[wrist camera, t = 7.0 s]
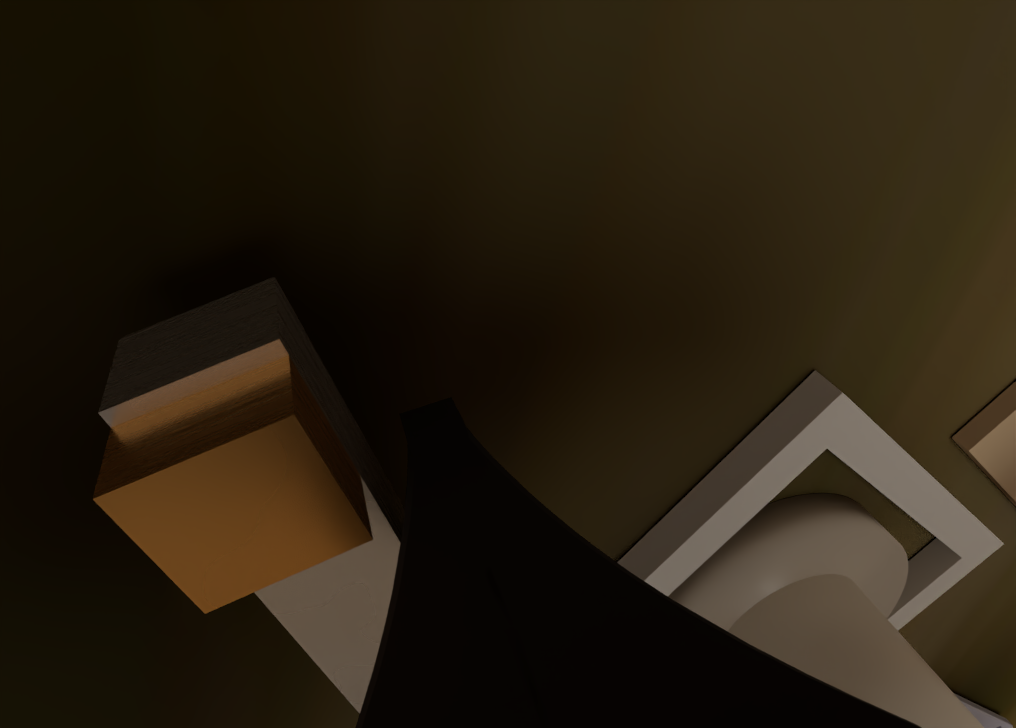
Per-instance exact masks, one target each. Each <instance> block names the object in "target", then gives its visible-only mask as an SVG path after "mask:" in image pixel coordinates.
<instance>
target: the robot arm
mask: <svg viewBox="0 0 1016 728" xmlns="http://www.w3.org/2000/svg"><path fill="white" fill-rule="evenodd" d="M400 417H401V420H402V424H403V427H404V431H405V434H406V438H407V443H408V472H407V490H406V500H405V511H404V521H403V530H402V537H401V543H400V549H399V555H398V561H397V567H396V573H395V578H394V584H393V590H392V594H391V599H390V604H389V608H388V613H387V617H386V622H385V626H384V630H383V634H382V638H381V642H380V646H379V650H378V653H377V657H376V661H375V665H374V668H373V672H372V675H371V679H370V682H369V685H368V688H367V692H366V695H365V698H364V702H363V705H362V708H361V712H360V715H359V718H358V722H357V725H356V728H921V727H920V726H918V725H916V724H914V723H912V722H910V721H908V720H905V719H903V718H901V717H899V716H897V715H894V714H892V713H890V712H888V711H885V710H883V709H881V708H879V707H877V706H874V705H872V704H870V703H868V702H865V701H863V700H861V699H859V698H857V697H854V696H852V695H850V694H848V693H846V692H844V691H842V690H840V689H838V688H836V687H834V686H831V685H829V684H827V683H825V682H823V681H821V680H819V679H817V678H815V677H813V676H811V675H808V674H806V673H804V672H802V671H801V670H799V669H797V668H795V667H793V666H791V665H789V664H787V663H785V662H783V661H781V660H779V659H777V658H775V657H773V656H772V655H770V654H768V653H766V652H764V651H762V650H760V649H758V648H756V647H754V646H752V645H750V644H748V643H747V642H745V641H743V640H741V639H740V638H738V637H736V636H735V635H733V634H731V633H729V632H728V631H726V630H724V629H722V628H721V627H719V626H717V625H716V624H714V623H712V622H710V621H709V620H707V619H705V618H703V617H702V616H700V615H698V614H697V613H695V612H693V611H691V610H690V609H688V608H686V607H684V606H683V605H681V604H679V603H678V602H676V601H674V600H672V599H671V598H669V597H668V596H666V595H665V594H663V593H662V592H660V591H658V590H657V589H655V588H654V587H652V586H651V585H649V584H648V583H646V582H645V581H643V580H642V579H640V578H639V577H637V576H636V575H634V574H633V573H631V572H630V571H628V570H627V569H625V568H624V567H623V566H621V565H620V564H618V563H617V562H616V561H614V560H613V559H611V558H610V557H608V556H607V555H606V554H604V553H603V552H601V551H600V550H599V549H597V548H596V547H595V546H593V545H592V544H591V543H589V542H588V541H587V540H586V539H584V538H583V537H582V536H580V535H579V534H578V533H577V532H575V531H574V530H573V529H572V528H570V527H569V526H568V525H567V524H565V523H564V522H563V521H562V520H561V519H559V518H558V517H557V516H556V515H555V514H553V513H552V512H551V511H550V510H549V509H547V508H546V507H545V506H544V505H543V504H542V503H541V502H539V501H538V500H537V499H536V498H535V497H534V496H533V495H532V494H530V493H529V492H528V491H527V490H526V489H525V488H524V487H523V486H522V485H521V484H520V483H519V482H518V481H517V480H516V479H515V478H514V477H513V476H511V475H510V474H509V473H508V472H507V471H506V470H505V469H504V468H503V467H502V466H501V465H500V464H499V463H498V462H497V461H496V460H495V459H494V458H493V457H492V456H491V455H490V454H489V452H488V451H487V450H486V449H485V448H484V447H483V446H482V445H481V444H480V443H479V441H478V440H477V439H476V438H475V437H474V436H473V435H472V433H471V432H470V431H469V430H468V429H467V427H466V426H465V424H464V422H463V420H462V418H461V416H460V413H459V411H458V409H457V408H456V406H455V404H454V402H453V400H452V398H448V399H445V400H442V401H438V402H435V403H432V404H429V405H426V406H423V407H420V408H417V409H414V410H411V411H408V412H405V413H402V414H400ZM954 694H955V693H954ZM955 695H956V697H957V698H958V699H959V700H960V701H961V702H962V703H963V704H964V706H965V707H966V708H967V709H968V710H969V711H970V712H971V713H972V714H973V716H974V717H975V718H976V719H977V720H978V721H979V722H980V723H981V725H982V726H983V727H984V728H1013V726H1012V724H1011V723H1010V722H1009V721H1008V720H1007V719H1006V718H1004V717H1002V716H1000V715H998V714H996V713H994V712H992V711H990V710H988V709H986V708H983V707H981V706H979V705H977V704H975V703H973V702H971V701H969V700H967V699H965V698H963V697H961V696H959V695H957V694H955Z"/></svg>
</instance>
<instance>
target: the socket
mask: <svg viewBox="0 0 1016 728" xmlns="http://www.w3.org/2000/svg"><path fill="white" fill-rule="evenodd" d="M826 449H828V450H830V451H831V452H832V453H833V454H835V455H836V456H837V457H838V458H839V459H841V460H842V461H843V462H844V463H846V464H847V465H848V466H849V467H851V468H852V469H853V470H854V471H855V472H857V473H858V474H859V475H860V476H862V477H863V478H864V479H865V480H867V481H868V482H869V483H870V484H871V485H873V486H874V487H875V488H876V489H878V490H879V491H880V492H881V493H883V494H884V495H885V496H886V497H887V498H889V499H890V500H891V501H892V502H894V503H895V504H896V505H897V506H899V507H900V508H901V509H902V510H903V511H905V512H906V513H907V514H908V515H910V516H911V517H912V518H913V519H915V520H916V521H917V522H918V523H920V524H921V525H922V526H923V527H924V528H926V529H927V530H928V531H929V532H931V533H932V534H933V535H934V536H936V537H937V538H936V539H934V540H933V541H932V542H931V543H930V544H929V545H927V546H926V547H925V548H924V549H923V550H921V551H920V552H919V553H918V554H917V555H915V556H914V557H913V558H912V559H911V560H910V561H908V575H907V580H906V584H905V587H904V589H903V592H902V594H901V596H900V598H899V600H898V602H897V604H896V606H895V607H894V609H893V610H892V612H891V613H890V615H889V616H888V618H887V619H888V620H889V622H890V623H891V624H892V625H893V626H894V627H895V628H896V629H897V631H898V630H899V629H901V628H902V627H903V626H904V625H906V624H907V623H908V622H909V621H910V620H912V619H913V618H914V617H915V616H917V615H918V614H919V613H920V612H921V611H923V610H924V609H925V608H926V607H928V606H929V605H930V604H931V603H932V602H934V601H935V600H936V599H937V598H939V597H940V596H941V595H942V594H943V593H945V592H946V591H947V590H948V589H950V588H951V587H952V586H953V585H954V584H956V583H957V582H958V581H959V580H961V579H962V578H963V577H964V576H965V575H967V574H968V573H969V572H970V571H972V570H973V569H974V568H975V567H977V566H978V565H979V564H980V563H981V562H983V561H984V560H985V559H986V558H988V557H989V556H990V555H991V554H992V553H994V552H995V551H996V550H997V549H999V548H1000V547H1001V546H1002V545H1003V544H1004V543H1003V542H1002V541H1000V540H999V539H998V538H997V537H996V536H995V535H994V534H993V533H992V532H991V531H990V530H989V529H988V528H987V527H986V526H984V525H983V524H982V523H981V522H980V521H979V520H978V519H977V518H976V517H975V516H974V515H973V514H972V513H971V512H970V511H968V510H967V509H966V508H965V507H964V506H963V505H962V504H961V503H960V502H959V501H958V500H957V499H956V498H955V497H954V496H952V495H951V494H950V493H949V492H948V491H947V490H946V489H945V488H944V487H943V486H942V485H941V484H940V483H939V482H938V481H936V480H935V479H934V478H933V477H932V476H931V475H930V474H929V473H928V472H927V471H926V470H925V469H924V468H923V467H922V466H920V465H919V464H918V463H917V462H916V461H915V460H914V459H913V458H912V457H911V456H910V455H909V454H908V453H907V452H906V451H904V450H903V449H902V448H901V447H900V446H899V445H898V444H897V443H896V442H895V441H894V440H893V439H892V438H891V437H890V436H888V435H887V434H886V433H885V432H884V431H883V430H882V429H881V428H880V427H879V426H878V425H877V424H876V423H875V422H874V421H872V420H871V419H870V418H869V417H868V416H867V415H866V414H865V413H864V412H863V411H862V410H861V409H860V408H859V407H858V406H857V405H855V404H854V403H853V402H852V401H851V400H850V399H849V398H848V397H847V396H846V395H845V394H844V393H843V392H841V391H840V390H839V389H838V388H837V387H835V386H834V385H833V384H832V383H830V382H829V381H828V380H827V379H826V378H824V377H823V376H822V375H821V374H820V373H818V372H817V371H816V370H815V371H814V372H813V373H812V374H811V375H810V376H809V377H808V378H807V379H806V380H805V381H804V382H803V383H801V384H800V385H799V386H798V387H797V388H796V389H795V390H794V391H793V392H792V393H791V394H790V395H789V396H788V397H787V398H786V399H785V400H784V401H783V402H782V403H781V404H780V405H779V406H778V407H777V408H776V409H775V410H774V411H773V412H772V413H771V414H770V415H769V416H768V417H766V418H765V419H764V420H763V421H762V422H761V423H760V424H759V425H758V426H757V427H756V428H755V429H754V430H753V431H752V432H751V433H750V434H749V435H748V436H747V437H746V438H745V439H744V440H743V441H742V442H741V443H740V444H739V445H738V446H737V447H736V448H735V449H734V450H733V451H732V452H730V453H729V454H728V455H727V456H726V457H725V458H724V459H723V460H722V461H721V462H720V463H719V464H718V465H717V466H716V467H715V468H714V469H713V470H712V471H711V472H710V473H709V474H708V475H707V476H706V477H705V478H704V479H703V480H702V481H701V482H700V483H699V484H698V485H697V486H695V487H694V488H693V489H692V490H691V491H690V492H689V493H688V494H687V495H686V496H685V497H684V498H683V499H682V500H681V501H680V502H679V503H678V504H677V505H676V506H675V507H674V508H673V509H672V510H671V511H670V512H669V513H668V514H667V515H666V516H665V517H664V518H663V519H662V520H661V521H659V522H658V523H657V524H656V525H655V526H654V527H653V528H652V529H651V530H650V531H649V532H648V533H647V534H646V535H645V536H644V537H643V538H642V539H641V540H640V541H639V542H638V543H637V544H636V545H635V546H634V547H633V548H632V549H631V550H630V551H629V552H628V553H627V554H626V555H625V556H623V557H622V558H621V559H620V560H619V561H618V562H617V563H618V564H620V565H621V566H623V567H624V568H625V569H627V570H628V571H630V572H631V573H633V574H634V575H636V576H637V577H639V578H640V579H642V580H643V581H645V582H646V583H648V584H649V585H651V586H652V587H654V588H655V589H657V590H658V591H660V592H662V593H663V594H665V595H666V596H669V595H670V594H671V593H672V592H673V591H674V590H675V589H676V588H677V587H678V586H679V585H680V584H682V583H683V582H684V581H685V580H686V579H687V578H688V577H689V576H690V575H691V574H692V573H693V572H694V571H696V570H697V569H698V568H699V567H700V566H701V565H702V564H703V563H704V562H705V561H706V560H707V559H708V558H709V557H711V556H712V555H713V554H714V553H715V552H716V551H717V550H718V549H719V548H720V547H721V546H722V545H723V544H725V543H726V542H727V541H728V540H729V539H730V538H731V537H732V536H733V535H734V534H735V533H736V532H737V531H739V530H740V529H741V528H742V527H743V526H744V525H745V524H746V523H747V522H748V521H749V520H750V519H751V518H753V517H754V516H755V515H756V514H757V513H758V512H759V511H760V510H761V509H762V508H763V507H764V506H765V505H766V504H768V503H769V502H770V501H771V500H772V499H773V498H774V497H775V496H776V495H777V494H778V493H779V492H780V491H782V490H783V489H784V488H785V487H786V486H787V485H788V484H789V483H790V482H791V481H792V480H793V479H794V478H796V477H797V476H798V475H799V474H800V473H801V472H802V471H803V470H804V469H805V468H806V467H807V466H808V465H810V464H811V463H812V462H813V461H814V460H815V459H816V458H817V457H818V456H819V455H820V454H821V453H822V452H823V451H825V450H826Z"/></svg>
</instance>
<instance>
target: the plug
mask: <svg viewBox="0 0 1016 728" xmlns="http://www.w3.org/2000/svg"><path fill="white" fill-rule="evenodd" d="M907 575H908V559H907V555H906V552H905V550H904V548H903V547H902V545H901V544H900V543H899V542H898V541H897V540H896V539H895V538H894V537H893V536H892V535H891V534H890V533H889V532H888V531H887V530H886V529H885V528H884V527H883V526H882V525H881V524H880V523H879V522H878V521H877V520H876V519H874V518H873V517H872V516H871V515H870V514H869V513H868V512H867V511H866V510H865V509H864V508H863V507H862V506H861V505H860V504H859V503H857V502H856V501H854V500H852V499H851V498H848V497H845V496H841V495H836V494H829V493H813V494H805V495H798V496H794V497H790V498H785V499H781V500H779V501H776V502H773V503H770V504H767V505H765V506H764V507H763V508H762V509H761V510H760V511H759V512H758V513H757V514H756V515H755V516H754V517H753V518H751V519H750V520H749V521H748V522H747V523H746V524H745V525H744V526H743V527H742V528H741V529H740V530H739V531H737V532H736V533H735V534H734V535H733V536H732V537H731V538H730V539H729V540H728V541H727V542H726V543H725V544H723V545H722V546H721V547H720V548H719V549H718V550H717V551H716V552H715V553H714V554H713V555H712V556H711V557H709V558H708V559H707V560H706V561H705V562H704V563H703V564H702V565H701V566H700V567H699V568H698V569H697V570H696V571H694V572H693V573H692V574H691V575H690V576H689V577H688V578H687V579H686V580H685V581H684V582H683V583H682V584H680V585H679V586H678V587H677V588H676V589H675V590H674V591H673V592H672V593H671V594H670V595H669V596H668V597H669V598H671V599H672V600H674V601H676V602H678V603H679V604H681V605H683V606H684V607H686V608H688V609H690V610H691V611H693V612H695V613H697V614H698V615H700V616H702V617H703V618H705V619H707V620H709V621H710V622H712V623H714V624H716V625H717V626H719V627H721V628H722V629H724V630H726V631H728V632H729V633H731V634H733V635H735V636H736V637H738V638H740V639H741V640H743V641H745V642H747V643H748V644H750V645H752V646H754V647H756V648H758V649H760V650H762V651H764V652H766V653H768V654H770V655H772V656H773V657H775V658H777V659H779V660H781V661H783V662H785V663H787V664H789V665H791V666H793V667H795V668H797V669H799V670H801V671H802V672H804V673H806V674H808V675H811V676H813V677H815V678H817V679H819V680H821V681H823V682H825V683H827V684H829V685H831V686H834V687H836V688H838V689H840V690H842V691H844V692H846V693H848V694H850V695H852V696H854V697H857V698H859V699H861V700H863V701H865V702H868V703H870V704H872V705H874V706H877V707H879V708H881V709H883V710H885V711H888V712H890V713H892V714H894V715H897V716H899V717H901V718H903V719H905V720H908V721H910V722H912V723H914V724H916V725H918V726H920V727H921V728H984V727H983V726H982V725H981V723H980V722H979V721H978V720H977V719H976V718H975V717H974V716H973V714H972V713H971V712H970V711H969V710H968V709H967V708H966V707H965V706H964V704H963V703H962V702H961V701H960V700H959V699H958V698H957V697H956V695H955V694H954V693H953V692H952V691H951V690H950V689H949V688H948V686H947V685H946V684H945V683H944V682H943V681H942V680H941V679H940V678H939V676H938V675H937V674H936V673H935V672H934V671H933V670H932V669H931V667H930V666H929V665H928V664H927V663H926V662H925V661H924V660H923V659H922V657H921V656H920V655H919V654H918V653H917V652H916V651H915V650H914V648H913V647H912V646H911V645H910V644H909V643H908V642H907V641H906V639H905V638H904V637H903V636H902V635H901V634H900V633H899V632H898V631H897V629H896V628H895V627H894V626H893V625H892V624H891V623H890V622H889V620H888V619H887V618H888V616H889V615H890V613H891V612H892V610H893V609H894V607H895V606H896V604H897V602H898V600H899V598H900V596H901V594H902V592H903V589H904V587H905V584H906V580H907Z"/></svg>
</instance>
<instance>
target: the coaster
mask: <svg viewBox="0 0 1016 728" xmlns="http://www.w3.org/2000/svg"><path fill="white" fill-rule="evenodd" d="M952 439H953V440H954V441H955V442H956V443H957V444H958V445H959V446H960V447H961V449H962V450H963V451H964V452H965V453H966V454H967V455H968V456H969V457H970V458H971V459H972V460H973V461H974V462H975V464H976V465H977V466H978V467H979V468H980V469H981V470H982V471H983V472H984V473H985V474H986V475H987V476H988V477H989V478H990V480H991V481H992V482H993V483H994V484H995V485H996V486H997V487H998V488H999V489H1000V490H1001V491H1002V492H1003V493H1004V494H1005V496H1006V497H1007V498H1008V499H1009V500H1010V501H1011V502H1012V503H1013V504H1014V505H1015V506H1016V381H1015V382H1014V383H1013V384H1012V385H1011V386H1010V387H1009V388H1007V389H1006V390H1005V391H1004V392H1003V393H1002V394H1001V395H999V396H998V397H997V398H996V399H995V400H994V401H993V402H992V403H990V404H989V405H988V406H987V407H986V408H985V409H984V410H982V411H981V412H980V413H979V414H978V415H977V416H976V417H975V418H973V419H972V420H971V421H970V422H969V423H968V424H967V425H965V426H964V427H963V428H962V429H961V430H960V431H959V432H958V433H956V434H955V435H954V436H953V437H952Z"/></svg>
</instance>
